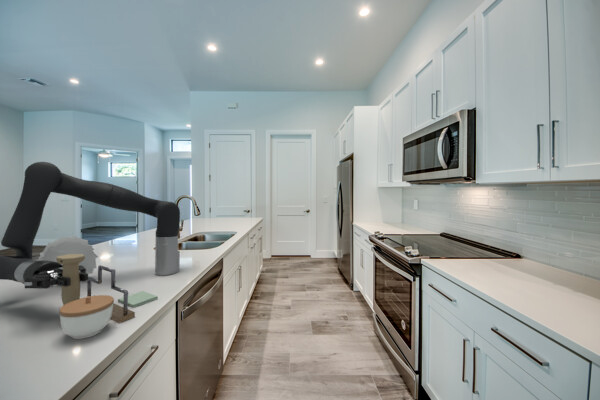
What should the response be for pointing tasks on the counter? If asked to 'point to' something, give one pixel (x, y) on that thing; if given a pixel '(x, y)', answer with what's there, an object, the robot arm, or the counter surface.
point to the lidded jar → (86, 316)
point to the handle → (71, 276)
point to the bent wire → (118, 312)
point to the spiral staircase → (70, 251)
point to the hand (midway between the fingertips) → (77, 280)
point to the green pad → (139, 299)
